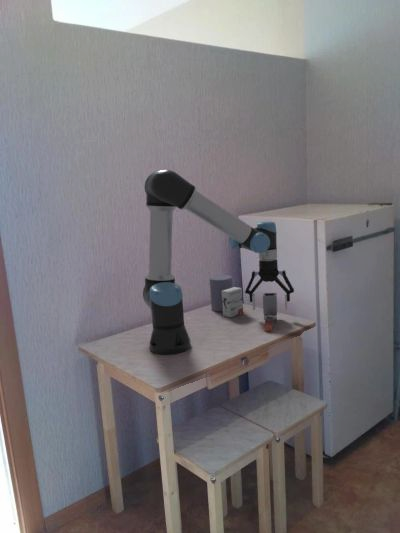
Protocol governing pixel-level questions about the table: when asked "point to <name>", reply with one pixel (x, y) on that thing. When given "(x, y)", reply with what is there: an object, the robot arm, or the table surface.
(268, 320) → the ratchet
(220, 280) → the container
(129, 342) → the table surface
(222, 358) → the table surface
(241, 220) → the robot arm
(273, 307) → the socket
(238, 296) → the ink box
